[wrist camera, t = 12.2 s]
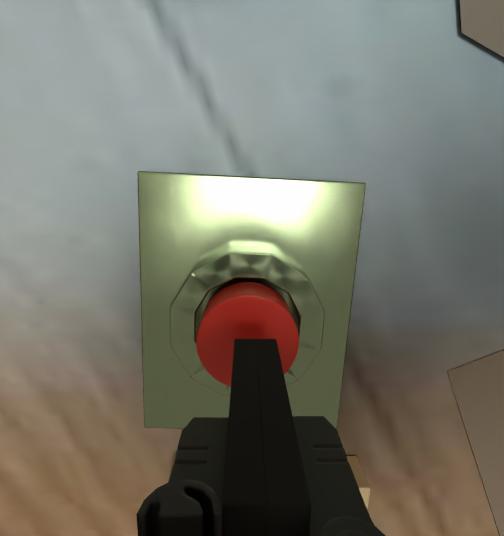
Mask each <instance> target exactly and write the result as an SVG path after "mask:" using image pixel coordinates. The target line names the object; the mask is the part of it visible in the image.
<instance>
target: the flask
mask: <svg viewBox="0 0 504 536" xmlns="http://www.w3.org/2000/svg"><path fill="white" fill-rule="evenodd" d="M460 12H461V28H462V33H463V34H465V35H466V36H468V37H470V38H472V39H473V40H475V41H477V42H478V43H480V44H482V45H484V46H485V47H487V48H489V49H490V50H492V51H494V52H496V53H497V54H499V55H501V56H502V57H504V0H460Z"/></svg>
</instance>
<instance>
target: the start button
mask: <svg viewBox="0 0 504 536" xmlns="http://www.w3.org/2000/svg"><path fill="white" fill-rule="evenodd" d="M234 339H276V340H277V345H278V349H279V354H280V359H281V364H282V368H283V373H284V374H286V372H287V371H288V370H289V369H290V367H291V366H292V364H293V363H294V361H295V358H296V356H297V352H298V348H299V335H298V330H297V326H296V324H295V321H294V319H293V316H292V314H291V311H290V309H289V307H288V305H287V303H286V301H285V300H284V299H283V298H282V296H281V295H279V294H278V293H277V292H276V291H275V290H273V289H271V288H270V287H268V286H265V285H263V284H259V283H254V282H241V283H236V284H232V285H229V286H227V287H225V288H223V289H222V290H220V291H219V292H217V293H216V294H215V295H214V296H213V297H212V298H211V299H210V301H209V302H208V304H207V306H206V307H205V310H204V312H203V315H202V318H201V321H200V325H199V328H198V332H197V337H196V348H197V353H198V356H199V359H200V361H201V363H202V365H203V366H204V368H205V369H206V371H207V372H208V373H209V374H210V375H211V376H212V377H213V378H215V379H216V380H217V381H219V382H221V383H222V384H225V385H227V386H230V387H231V378H232V365H233V352H234Z"/></svg>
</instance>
